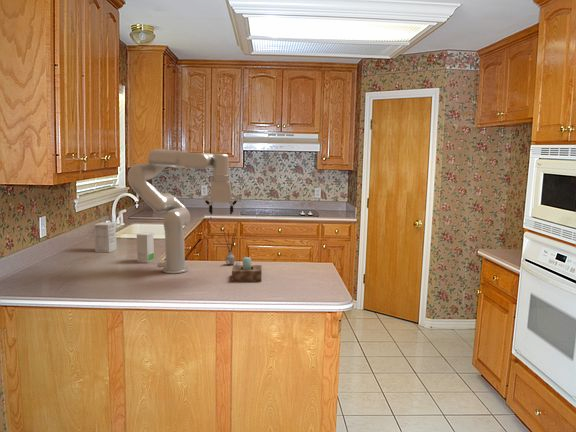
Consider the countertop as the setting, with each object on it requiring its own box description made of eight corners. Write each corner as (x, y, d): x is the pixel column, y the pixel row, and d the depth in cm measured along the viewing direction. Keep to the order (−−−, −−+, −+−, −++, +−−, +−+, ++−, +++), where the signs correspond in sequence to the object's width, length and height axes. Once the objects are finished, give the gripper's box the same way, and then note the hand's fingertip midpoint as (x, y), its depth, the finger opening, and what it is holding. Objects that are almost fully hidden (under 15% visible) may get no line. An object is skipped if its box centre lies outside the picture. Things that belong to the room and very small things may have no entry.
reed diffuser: (220, 264, 274) (220, 228, 271) (226, 262, 280) (226, 226, 278) (237, 266, 270) (237, 229, 268) (243, 264, 277) (243, 227, 274)
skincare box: (147, 263, 276) (146, 234, 274) (136, 262, 278) (135, 234, 275) (154, 259, 284) (154, 232, 282) (143, 259, 286) (143, 231, 284)
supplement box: (117, 249, 311) (116, 222, 309) (109, 252, 302) (108, 224, 300) (102, 249, 312) (101, 221, 310) (94, 252, 303) (93, 224, 301)
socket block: (231, 281, 241) (231, 271, 240) (233, 275, 253) (233, 265, 252) (261, 281, 242) (261, 271, 241) (261, 275, 253) (261, 265, 253)
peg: (242, 279, 245) (242, 259, 244) (242, 277, 249) (242, 257, 248) (250, 279, 245) (250, 259, 244) (251, 277, 249) (251, 257, 248)
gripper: (202, 179, 245) (202, 214, 247) (238, 179, 246) (238, 215, 248) (204, 178, 252) (204, 212, 255) (239, 178, 253) (239, 213, 255)
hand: (221, 213), depth 251 cm, fingers open, 9 cm apart
